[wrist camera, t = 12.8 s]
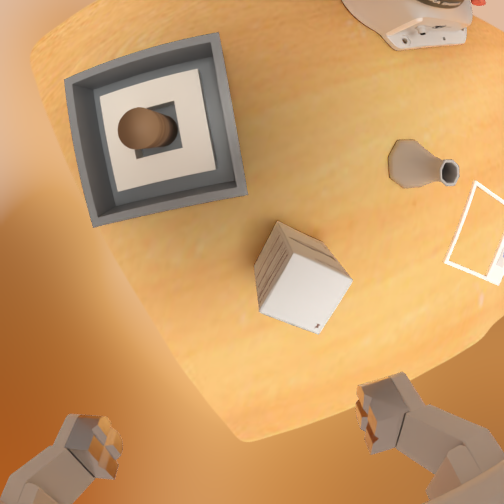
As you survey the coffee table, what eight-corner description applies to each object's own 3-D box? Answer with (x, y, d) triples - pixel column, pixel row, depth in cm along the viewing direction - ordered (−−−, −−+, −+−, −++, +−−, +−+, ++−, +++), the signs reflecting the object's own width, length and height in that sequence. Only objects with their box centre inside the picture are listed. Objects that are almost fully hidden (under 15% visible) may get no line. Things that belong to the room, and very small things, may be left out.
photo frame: (499, 286, 46) (444, 263, 44) (496, 283, 47) (441, 260, 45) (526, 217, 42) (476, 180, 39) (522, 216, 43) (471, 179, 40)
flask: (392, 131, 37) (433, 132, 28) (432, 147, 38) (476, 153, 29) (381, 181, 40) (419, 195, 30) (422, 194, 40) (463, 209, 31)
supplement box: (324, 241, 42) (356, 280, 30) (298, 286, 44) (319, 337, 32) (276, 217, 41) (294, 251, 29) (251, 265, 43) (257, 314, 31)
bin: (221, 49, 33) (218, 32, 26) (245, 185, 39) (248, 194, 32) (89, 86, 33) (64, 79, 26) (113, 213, 39) (93, 227, 33)
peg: (174, 111, 34) (154, 102, 25) (180, 142, 36) (161, 143, 26) (143, 119, 34) (114, 114, 25) (149, 150, 36) (122, 154, 26)
